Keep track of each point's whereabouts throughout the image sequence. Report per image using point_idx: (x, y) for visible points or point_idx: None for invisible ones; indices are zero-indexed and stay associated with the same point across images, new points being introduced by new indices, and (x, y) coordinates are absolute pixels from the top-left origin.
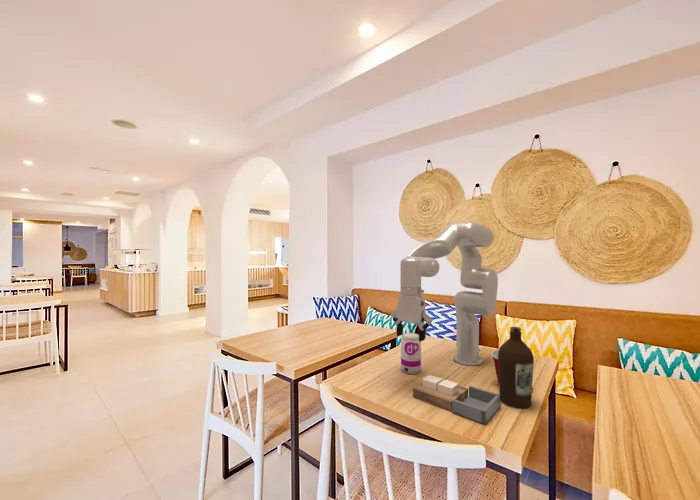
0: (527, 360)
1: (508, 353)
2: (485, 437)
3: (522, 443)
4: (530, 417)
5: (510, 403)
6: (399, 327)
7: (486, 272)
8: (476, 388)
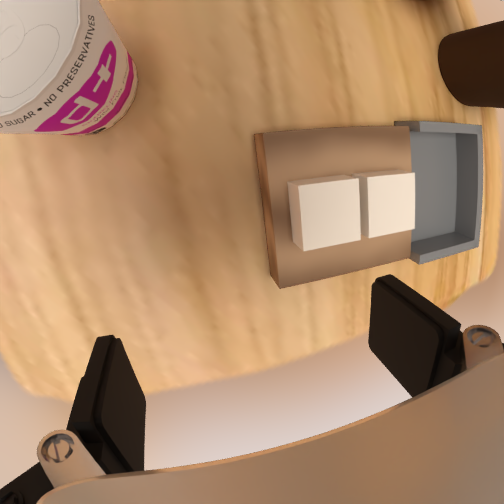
0: None
1: None
2: (462, 275)
3: (497, 238)
4: (495, 130)
5: (472, 105)
6: (137, 459)
7: None
8: (438, 129)
